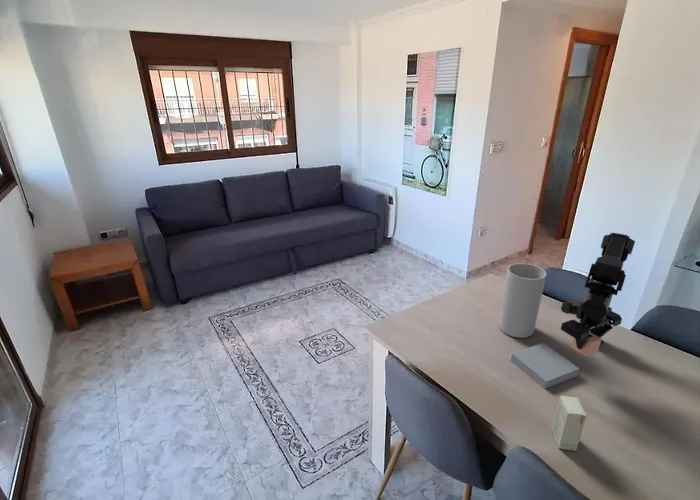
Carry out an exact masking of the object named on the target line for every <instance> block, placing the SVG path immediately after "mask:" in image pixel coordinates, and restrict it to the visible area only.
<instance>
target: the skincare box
mask: <svg viewBox="0 0 700 500" xmlns="http://www.w3.org/2000/svg"><path fill="white" fill-rule="evenodd" d="M558 399H559V400H558V403H557V408H556V412H555V416H554V418H553V419H554V420H553V423H552V427H551V431H552V435H553V437H554V441H555V442H556V446H557V448H558V449H561V450H565V451H566V450H568V451H577V450H578V446H579V443H580V442H579V441H580V439H581V436H582V432H583V429H584V426H585V421H586V418H587V414H586V411H585V409H584V407H583V405H582V402H581V401H580V399H579V397H576V396H574V397H573V396H569V395H563V394H562V395H559V398H558Z"/></svg>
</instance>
